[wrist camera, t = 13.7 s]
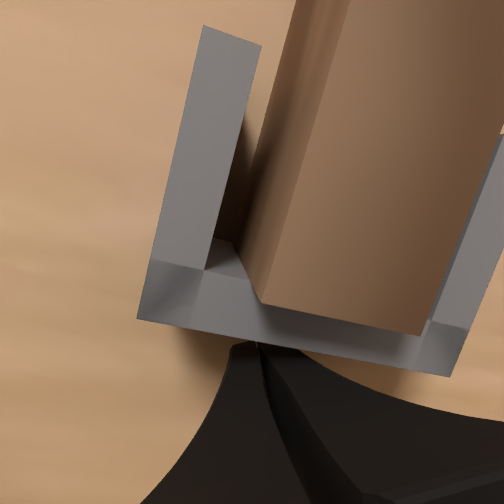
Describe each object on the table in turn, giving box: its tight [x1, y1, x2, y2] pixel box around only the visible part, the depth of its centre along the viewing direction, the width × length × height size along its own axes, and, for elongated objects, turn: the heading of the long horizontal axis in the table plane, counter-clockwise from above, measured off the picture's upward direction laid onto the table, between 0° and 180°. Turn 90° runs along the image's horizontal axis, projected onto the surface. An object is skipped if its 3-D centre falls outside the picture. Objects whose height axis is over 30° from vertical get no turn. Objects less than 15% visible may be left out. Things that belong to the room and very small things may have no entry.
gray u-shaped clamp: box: [136, 25, 504, 377], centre depth 9 cm, size 7×5×4 cm
